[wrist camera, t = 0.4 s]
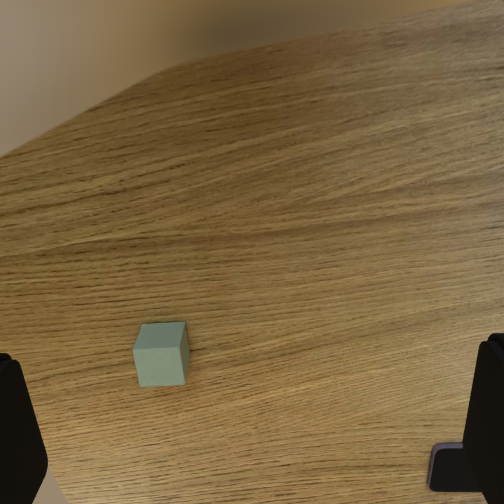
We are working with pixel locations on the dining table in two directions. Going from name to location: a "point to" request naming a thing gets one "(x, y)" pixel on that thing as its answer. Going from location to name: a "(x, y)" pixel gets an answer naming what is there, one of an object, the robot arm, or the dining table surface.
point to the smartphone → (450, 470)
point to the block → (162, 354)
